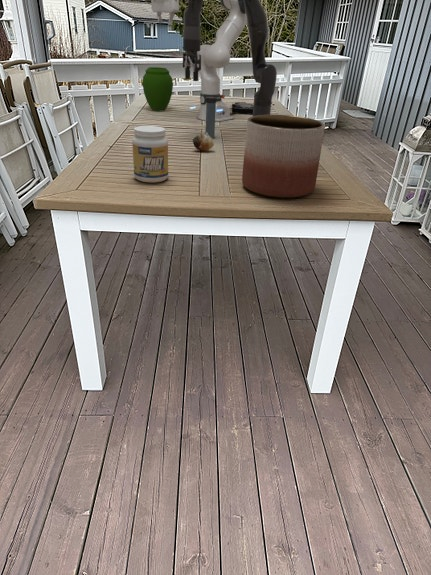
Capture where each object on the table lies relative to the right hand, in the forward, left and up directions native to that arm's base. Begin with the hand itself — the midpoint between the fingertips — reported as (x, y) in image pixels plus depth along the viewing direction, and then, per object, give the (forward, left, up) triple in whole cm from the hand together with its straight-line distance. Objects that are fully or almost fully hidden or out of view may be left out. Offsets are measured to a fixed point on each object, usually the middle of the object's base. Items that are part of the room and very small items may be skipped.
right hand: (191, 80), depth 186 cm
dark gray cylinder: (-12, -3, -27) cm, 29 cm away
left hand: (-5, -43, +21) cm, 48 cm away
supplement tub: (+39, +50, -27) cm, 69 cm away
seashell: (+4, +21, -27) cm, 34 cm away
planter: (+2, +75, -27) cm, 80 cm away
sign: (-75, -70, -27) cm, 107 cm away
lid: (-12, -3, -8) cm, 15 cm away
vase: (-16, -84, -27) cm, 89 cm away
